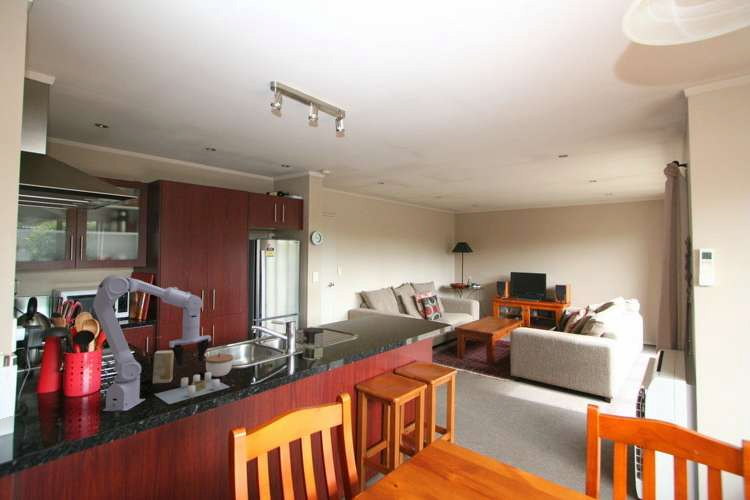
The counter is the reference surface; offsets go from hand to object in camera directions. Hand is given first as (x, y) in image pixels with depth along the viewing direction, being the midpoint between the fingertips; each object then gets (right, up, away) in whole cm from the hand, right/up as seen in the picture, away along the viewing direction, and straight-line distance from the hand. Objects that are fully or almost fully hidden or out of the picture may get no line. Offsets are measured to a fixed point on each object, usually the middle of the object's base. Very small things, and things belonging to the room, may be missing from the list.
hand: (190, 363), depth 137 cm
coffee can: (+38, -12, +48) cm, 62 cm away
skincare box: (-15, -10, +8) cm, 20 cm away
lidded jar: (+3, -11, +18) cm, 21 cm away
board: (+2, -10, -1) cm, 11 cm away
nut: (+3, -10, 0) cm, 10 cm away
